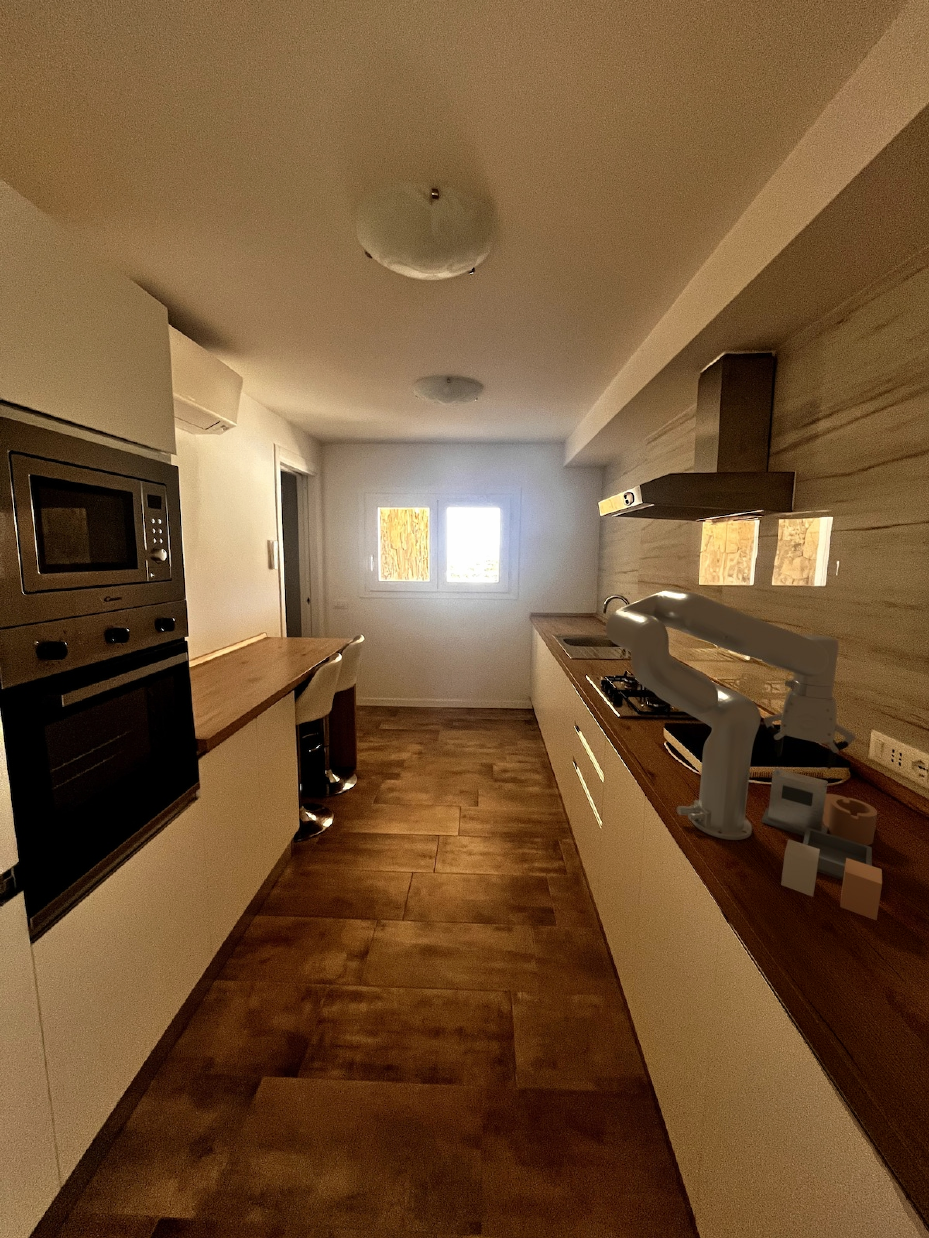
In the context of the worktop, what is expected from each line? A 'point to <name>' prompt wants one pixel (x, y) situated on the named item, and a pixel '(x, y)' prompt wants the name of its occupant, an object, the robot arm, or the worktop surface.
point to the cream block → (800, 867)
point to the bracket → (850, 819)
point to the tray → (836, 852)
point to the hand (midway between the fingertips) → (803, 760)
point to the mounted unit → (796, 802)
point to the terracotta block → (861, 888)
